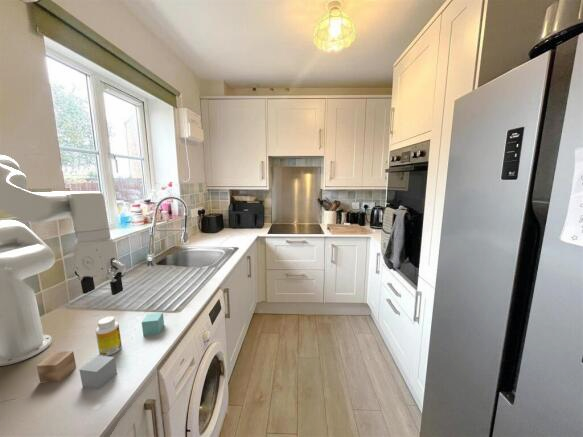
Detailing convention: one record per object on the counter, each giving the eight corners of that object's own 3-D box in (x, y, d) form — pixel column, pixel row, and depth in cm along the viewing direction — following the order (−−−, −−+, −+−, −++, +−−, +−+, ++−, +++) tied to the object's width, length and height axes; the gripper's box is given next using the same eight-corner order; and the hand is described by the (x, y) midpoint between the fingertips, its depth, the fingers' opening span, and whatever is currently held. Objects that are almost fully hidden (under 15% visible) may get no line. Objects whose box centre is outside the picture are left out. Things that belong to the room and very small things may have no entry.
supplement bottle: (124, 350, 74) (119, 319, 72) (101, 360, 70) (96, 328, 68) (119, 341, 78) (115, 312, 76) (97, 351, 74) (92, 320, 72)
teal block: (143, 335, 81) (141, 322, 80) (149, 326, 85) (147, 313, 85) (159, 333, 82) (157, 320, 81) (164, 325, 86) (162, 312, 86)
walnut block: (40, 382, 62) (36, 365, 62) (58, 367, 67) (55, 351, 67) (59, 382, 63) (56, 365, 62) (76, 367, 67) (73, 351, 67)
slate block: (82, 387, 61) (79, 369, 60) (101, 371, 66) (98, 355, 65) (99, 389, 60) (96, 371, 59) (116, 373, 65) (114, 357, 64)
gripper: (53, 238, 65) (65, 297, 68) (107, 239, 63) (118, 300, 66) (80, 232, 73) (90, 285, 76) (131, 232, 70) (139, 287, 73)
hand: (103, 292), depth 71 cm, fingers open, 9 cm apart
